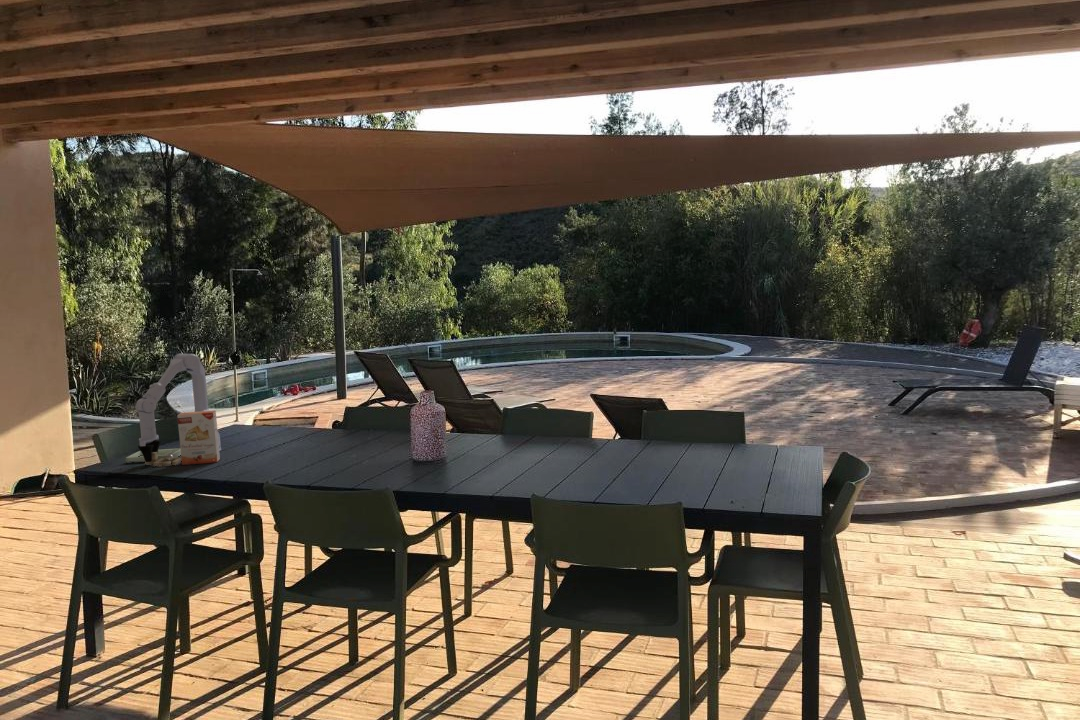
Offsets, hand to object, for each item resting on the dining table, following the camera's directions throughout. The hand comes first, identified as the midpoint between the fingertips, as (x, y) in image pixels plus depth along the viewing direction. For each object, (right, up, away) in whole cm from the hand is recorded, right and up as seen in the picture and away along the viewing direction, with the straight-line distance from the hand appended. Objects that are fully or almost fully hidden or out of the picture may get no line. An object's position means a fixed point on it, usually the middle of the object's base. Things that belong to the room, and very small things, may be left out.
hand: (151, 460), depth 360 cm
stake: (+8, -1, 0) cm, 8 cm away
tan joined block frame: (+5, -2, 0) cm, 5 cm away
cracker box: (+21, -1, -1) cm, 21 cm away
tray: (-4, -1, +13) cm, 13 cm away
